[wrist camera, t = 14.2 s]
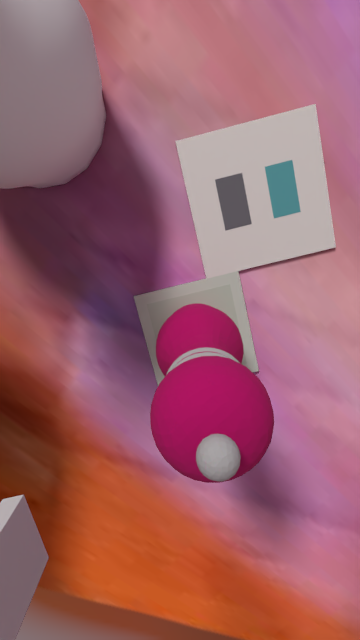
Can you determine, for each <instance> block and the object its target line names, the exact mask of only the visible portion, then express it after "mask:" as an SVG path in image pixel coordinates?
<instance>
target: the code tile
mask: <svg viewBox="0 0 360 640" xmlns="http://www.w3.org/2000/svg"><path fill="white" fill-rule="evenodd" d="M175 142H176V146H177V151H178V155H179V160H180V164H181V169H182V173H183V177H184V182H185V186H186V191H187V195H188V200H189V204H190V209H191V213H192V217H193V222H194V226H195V231H196V235H197V240H198V244H199V248H200V253H201V257H202V262H203V266H204V271H205V275H206V279H207V278H212V277H216V276H220V275H224V274H228V273H232V272H236V271H240V270H244V269H249V268H253V267H257V266H261V265H265V264H269V263H273V262H277V261H282V260H286V259H290V258H294V257H298V256H302V255H306V254H310V253H315V252H319V251H323V250H327V249H331V248H335V247H336V245H335V238H334V231H333V224H332V217H331V210H330V202H329V195H328V188H327V181H326V174H325V167H324V160H323V153H322V146H321V139H320V132H319V125H318V118H317V111H316V104H313V105H310V106H306V107H302V108H298V109H295V110H291V111H287V112H283V113H280V114H276V115H272V116H268V117H265V118H261V119H257V120H253V121H250V122H246V123H242V124H238V125H235V126H231V127H227V128H223V129H220V130H216V131H212V132H208V133H205V134H201V135H197V136H193V137H190V138H186V139H182V140H178V141H175Z"/></svg>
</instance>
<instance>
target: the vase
mask: <svg viewBox="0 0 360 640" xmlns="http://www.w3.org/2000/svg"><path fill="white" fill-rule="evenodd" d="M105 120H106V111H105V106H104V101H103V96H102V81H101V76H100V71H99V66H98V61H97V56H96V51H95V46H94V41H93V35H92V31H91V26H90V23H89V20H88V18H87V15H86V13H85V11H84V9H83V8H82V6H81V4H80V2H79V1H78V0H0V188H2V189H11V188H18V187H25V186H31V187H35V188H39V189H40V188H46V187H51V186H56V185H62V184H66V183H67V182H69V181H70V180H72V179H73V178H74V177H76V176H77V175H79V174H80V173H82V172H83V171H84V170H86V169H87V168H88V166H89V165H90V163H91V161H92V160H93V158H94V156H95V155H96V153H97V151H98V150H99V148H100V146H101V145H102V139H103V132H104V126H105Z"/></svg>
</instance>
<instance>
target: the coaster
mask: <svg viewBox="0 0 360 640" xmlns="http://www.w3.org/2000/svg"><path fill="white" fill-rule="evenodd" d="M133 297H134V300H135V304H136V307H137V311H138V315H139V318H140V322H141V326H142V329H143V333H144V337H145V340H146V344H147V348H148V351H149V355H150V359H151V362H152V366H153V369H154V373H155V377H156V380H157V384H158V386H159V384H160V382H161V381H162V380H163V379H164V377H165V376H164V375H163V373H162V371H161V369H160V368H159V365H158V362H157V358H156V340H157V336H158V333H159V331H160V328H161V327H162V325H163V323H164V322H165V321H166V320H167V319H168V318H169V317H170V316H171V315H172V314H173V313H174V312H175V311H177V310H178V309H180V308H181V307H183V306H186V305H189V304H195V303H200V304H206V305H209V306H211V307H214V308H216V309H219V310H220V311H222V312H224V313H225V314H227V315H228V316H229V317H230V318H231V319H232V320H233V321H234V323H235V324H236V326H237V327H238V329H239V332H240V334H241V338H242V342H243V350H244V354H243V359H242V365H244V366H246V367H247V368H248V369H249V370H250V371H251V372H256V371H259V369H258V365H257V360H256V355H255V350H254V345H253V340H252V335H251V330H250V326H249V321H248V316H247V311H246V306H245V301H244V296H243V291H242V286H241V282H240V277H239V272H238V271H236V272H232V273H228V274H224V275H220V276H216V277H212V278H207V279H202V280H198V281H194V282H190V283H186V284H182V285H177V286H173V287H169V288H165V289H161V290H157V291H153V292H149V293H144V294H140V295H136V296H133Z"/></svg>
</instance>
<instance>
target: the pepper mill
mask: <svg viewBox="0 0 360 640" xmlns="http://www.w3.org/2000/svg"><path fill="white" fill-rule="evenodd" d="M243 354H244V350H243V342H242V338H241V334H240V332H239V329H238V327H237V326H236V324H235V323H234V321H233V320H232V319H231V318H230V317H229V316H228V315H227V314H225V313H224V312H222V311H220V310H219V309H216V308H214V307H211V306H209V305H206V304H200V303H195V304H189V305H186V306H183V307H181V308H180V309H178V310H177V311H175V312H174V313H173V314H172V315H171V316H170V317H169V318H168V319H167V320H166V321H165V322H164V323H163V325H162V327H161V328H160V331H159V333H158V336H157V340H156V358H157V362H158V365H159V368H160V369H161V371H162V373H163V375H164V376H165V377H164V379H163V380H162V381H161V382H160V384H159V386H158V388H157V390H156V392H155V394H154V398H153V401H152V405H151V413H150V416H151V429H152V434H153V437H154V440H155V443H156V446H157V448H158V450H159V451H160V453H161V454H162V456H163V457H164V459H165V460H166V461H167V462H168V463H169V464H170V465H171V466H172V467H173V468H174V469H175V470H177V471H178V472H180V473H181V474H183V475H184V476H187V477H189V478H191V479H194V480H197V481H202V482H224V481H229V480H232V479H235V478H237V477H239V476H242V475H243V474H245V473H246V472H248V471H249V470H251V469H252V468H253V467H254V466H255V465H256V464H257V463H258V462H259V461H260V460H261V458H262V457H263V455H264V454H265V452H266V450H267V448H268V446H269V444H270V442H271V437H272V433H273V426H274V416H273V409H272V405H271V401H270V398H269V396H268V393H267V391H266V389H265V387H264V385H263V384H262V383H261V381H260V380H259V378H258V377H257V376H256V375H255V374H253V373H252V372H251V371H250V370H249V369H248V368H247V367H246V366H244V365H242V359H243Z"/></svg>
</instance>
